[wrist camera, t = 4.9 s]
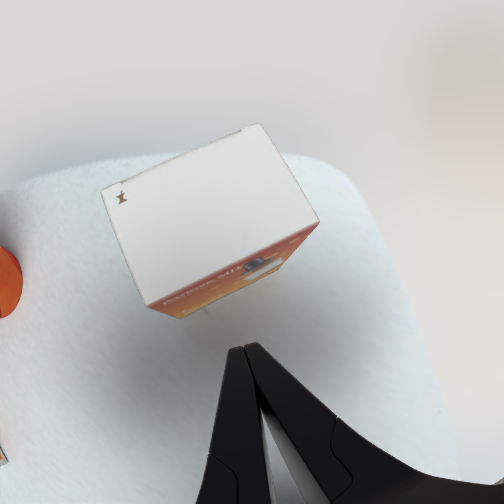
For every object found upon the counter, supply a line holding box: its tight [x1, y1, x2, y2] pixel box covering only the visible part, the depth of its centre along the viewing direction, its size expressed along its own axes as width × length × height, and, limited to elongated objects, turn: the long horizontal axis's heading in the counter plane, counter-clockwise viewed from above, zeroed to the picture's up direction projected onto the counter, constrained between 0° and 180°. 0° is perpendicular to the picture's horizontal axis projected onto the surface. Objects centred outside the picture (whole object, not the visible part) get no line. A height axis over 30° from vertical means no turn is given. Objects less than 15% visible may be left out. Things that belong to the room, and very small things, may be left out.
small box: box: [101, 123, 320, 319], centre depth 18 cm, size 8×6×10 cm
